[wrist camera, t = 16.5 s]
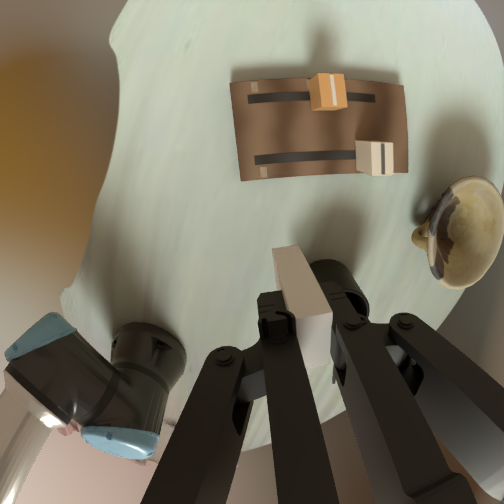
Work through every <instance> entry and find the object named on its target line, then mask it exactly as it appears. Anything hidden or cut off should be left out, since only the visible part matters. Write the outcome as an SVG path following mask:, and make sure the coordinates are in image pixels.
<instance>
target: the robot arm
mask: <svg viewBox="0 0 504 504" xmlns="http://www.w3.org/2000/svg"><path fill="white" fill-rule="evenodd" d="M272 252H273V261H274V269H275V278H276V287H277V291H273V292H266V293H261V294H260V295H259V297H258V299H257V305H258V314H259V320H258V328H259V334H260V338H259V340H258V342H257V343H256V344H255V345H253V346H252V347H250V348H248V349H245V350H242V351H241V350H239V349H238V348H236V347H232V346H222V347H219V348H216V349H215V350H213V351H212V352H210V354H209V355H208V356H207V358H206V360H205V362H204V365H203V367H202V369H201V371H200V373H199V376H198V378H197V380H196V382H195V384H194V387H193V389H192V391H191V393H190V396H189V398H188V400H187V402H186V404H185V407H184V409H183V411H182V413H181V415H180V418H179V420H178V422H177V424H176V426H175V429H174V431H173V433H172V435H171V437H170V440H169V442H168V444H167V446H166V448H165V451H164V453H163V455H162V457H161V459H160V461H159V464H158V466H157V468H156V470H155V472H154V475H153V477H152V479H151V481H150V484H149V486H148V488H147V490H146V492H145V494H144V497H143V499H142V501H141V503H140V504H226V500H227V498H228V494H229V491H230V487H231V484H232V480H233V477H234V474H235V470H236V466H237V463H238V459H239V456H240V452H241V448H242V445H243V441H244V437H245V433H246V430H247V426H248V422H249V418H250V414H251V410H252V406H253V400H255V399H258V398H260V397H263V396H265V395H267V404H268V413H269V422H270V431H271V440H272V450H273V458H274V467H275V477H276V486H277V495H278V504H339V500H338V496H337V491H336V487H335V483H334V478H333V474H332V470H331V466H330V462H329V458H328V453H327V449H326V445H325V442H324V437H323V433H322V429H321V425H320V421H319V417H318V413H317V409H316V406H315V402H314V398H313V394H312V390H311V386H310V383H309V379H308V375H307V371H306V368H310V367H315V366H320V365H325V364H330V362H331V356H332V359H333V362H334V367H333V378H332V382H333V384H335V380H336V381H337V384H338V386H339V389H340V392H341V395H342V398H343V401H344V404H345V407H346V410H347V412H348V415H349V419H350V422H351V425H352V428H353V431H354V434H355V437H356V440H357V443H358V446H359V450H360V453H361V456H362V459H363V463H364V466H365V469H366V472H367V476H368V479H369V483H370V486H371V489H372V493H373V496H374V500H375V504H477V502H476V499H475V497H474V494H473V492H472V490H471V487H470V485H469V483H468V481H467V479H466V478H465V477H464V476H463V475H462V474H459V473H455V472H452V471H451V470H450V469H449V467H448V465H447V463H446V460H445V458H444V456H443V454H442V452H441V450H440V447H439V445H438V443H437V441H436V439H435V437H434V435H433V433H434V434H435V435H436V436H437V437H438V438H439V439H440V441H441V442H442V443H443V444H444V445H445V446H446V447H447V449H448V450H449V451H450V452H451V453H452V454H453V455H454V457H455V458H456V459H457V460H458V461H459V462H460V463H461V465H462V466H463V467H464V468H465V469H466V470H467V472H468V473H469V474H470V475H471V476H472V477H473V479H474V480H475V481H476V482H477V483H478V484H479V485H480V486H481V487H482V489H483V490H484V491H485V492H487V493H488V494H489V495H491V496H492V497H494V498H496V499H498V500H500V503H499V504H504V388H503V387H502V386H501V385H500V384H499V383H497V382H496V381H495V380H494V379H493V378H492V377H491V376H489V375H488V374H487V373H486V372H485V371H484V370H483V369H481V368H480V367H479V366H478V365H477V364H475V363H474V362H473V361H472V360H471V359H470V358H468V357H467V356H466V355H465V354H463V353H462V352H461V351H459V349H457V348H456V347H455V346H454V345H452V344H451V343H450V342H449V341H447V340H446V339H445V338H444V337H442V336H441V335H440V334H439V333H437V332H436V331H435V330H434V329H432V328H431V327H430V326H429V325H427V324H426V323H425V322H423V321H422V320H421V319H420V318H418V317H417V316H415V315H413V314H410V313H398V314H395V315H394V316H392V317H391V319H390V322H389V323H388V324H377V323H371V322H370V321H369V320H368V319H367V318H366V317H365V316H363V315H361V314H357V312H356V310H355V309H354V307H353V305H352V304H351V302H350V301H349V299H348V298H347V296H346V294H345V293H344V291H343V289H342V288H341V286H340V285H338V284H337V283H335V282H334V281H330V282H324V283H318V282H317V280H316V278H315V276H314V274H313V272H312V270H311V268H310V266H309V264H308V262H307V260H306V259H305V257H304V255H303V253H302V251H301V249H300V247H299V245H294V246H287V247H280V248H273V249H272ZM5 357H6V360H7V361H9V364H8V366H7V367H6V369H5V370H4V378H5V389H4V390H3V392H2V393H1V395H0V504H14V503H15V501H16V498H17V496H18V494H19V492H20V490H21V488H22V486H23V483H24V481H25V479H26V477H27V475H28V473H29V471H30V469H31V467H32V465H33V464H34V462H35V460H36V458H37V456H38V454H39V452H40V450H41V448H42V447H43V445H44V443H45V441H46V439H47V438H48V436H49V434H50V432H51V431H52V429H54V428H61V427H67V425H68V424H69V422H70V420H71V418H72V419H74V420H75V421H76V422H78V423H79V424H80V425H82V428H81V430H80V431H81V436H82V438H83V439H84V440H85V441H86V442H87V443H88V444H90V445H92V446H93V447H95V448H97V449H99V450H102V451H104V452H106V453H109V454H112V455H115V456H119V457H124V458H129V459H145V458H148V457H150V456H152V455H153V454H154V452H155V449H156V446H157V442H158V440H159V439H160V431H161V426H162V421H163V417H164V412H165V408H166V404H167V399H168V395H169V392H170V390H171V389H172V388H173V386H174V385H175V384H176V382H177V381H178V379H179V378H180V377H181V376H182V374H183V372H184V369H185V365H186V354H185V351H184V349H183V347H182V345H181V344H180V343H179V342H178V341H177V340H176V339H175V338H174V337H173V336H172V335H171V334H169V333H168V332H166V331H164V330H163V329H161V328H158V327H156V326H153V325H150V324H145V323H131V324H127V325H125V326H123V327H121V328H120V329H119V330H118V332H117V333H116V335H115V337H114V339H113V342H112V348H111V361H110V363H109V362H108V361H107V360H106V359H105V358H104V357H103V356H102V355H101V354H100V353H98V352H97V351H96V350H95V349H94V348H93V347H92V346H91V345H90V344H89V343H88V342H87V341H86V340H85V339H84V338H83V337H82V336H81V335H80V334H79V332H78V331H77V329H76V328H74V327H73V326H71V325H70V324H69V323H68V322H67V321H66V320H65V319H64V318H63V317H62V316H61V315H60V314H59V313H56V312H51V313H48V314H46V315H45V316H44V317H43V318H41V319H40V320H39V321H38V322H36V323H35V324H34V325H33V326H32V327H31V328H29V329H28V330H27V331H26V332H25V333H24V334H23V335H22V336H21V337H20V338H19V339H18V340H16V342H14V343H13V344H12V345H11V346H10V347H9V348H8V349H7V350H6V351H5ZM412 359H413V360H414V361H415V362H416V363H415V362H413V360H412ZM431 430H432V431H433V433H432V431H431Z"/></svg>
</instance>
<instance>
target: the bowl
mask: <svg viewBox="0 0 504 504" xmlns="http://www.w3.org/2000/svg"><path fill="white" fill-rule="evenodd" d="M503 235H504V205H503V200H502V197H501V195H500V193H499V192H498V190H497V188H496V187H495V186H494V184H493V183H492V182H490V181H489V180H487V179H485V178H482V177H478V176H469V177H465V178H463V179H460V180H458V181H457V182H455V183H454V184H452V185H451V186H450V187H449V188H448V189H447V190H446V191H445V193H443V194H442V198H441V199H439V200H438V203H437V204H436V205H435V206H433V208H432V209H431V211H430V214H429V215H428V216H427V220H426V222H425V223H424V224H422V225H420V226H419V227H418V228H416V229H415V230H414V231H413V233H412V236H411V238H412V242H413V243H414V244H415V245H416V246H417V247H419V248H421V249H424V250H425V251H426V252H427V256H428V261H429V265H430V269H431V272H432V274H433V275H434V277H435V278H436V279H437V280H438V282H439V283H440V284H441V285H443V286H444V287H446V288H449V289H455V290H456V289H463V288H466V287H469V286H471V285H473V284H474V283H475V282H477V281H478V280H479V279H480V278H481V277H482V276H483V275H484V274H485V273H486V271H487V270H488V269H489V267H490V266H491V264H492V263H493V261H494V259H495V257H496V255H497V253H498V251H499V248H500V245H501V242H502V239H503ZM425 236H428V237H425Z"/></svg>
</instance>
